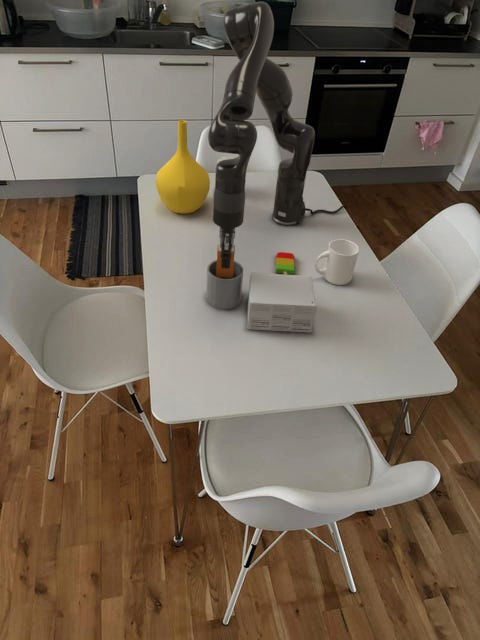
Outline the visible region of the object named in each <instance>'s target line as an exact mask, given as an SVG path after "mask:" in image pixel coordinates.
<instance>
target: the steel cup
mask: <svg viewBox="0 0 480 640" xmlns="http://www.w3.org/2000/svg"><path fill="white" fill-rule="evenodd" d="M216 272H217V259H215V260H212V261H211V262H210V263H209V264H208V265H207V269H206V302H207V303H208V304H209V305H210V306H211V307H213V308H215V309H218V310H232V309H235V308H236V307H238V306H239V305H240V304H241V302H242V292H243V283H244V282H243V281H244V267H243V265H242V264H241V263H239V261H236V260H234V268H233V278H226V277H216Z"/></svg>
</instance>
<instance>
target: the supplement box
mask: <svg viewBox="0 0 480 640" xmlns="http://www.w3.org/2000/svg"><path fill="white" fill-rule="evenodd" d="M313 282H314V281H313V276H312V275H298V274H287V275H284V274H282V273H262V272H261V273H260V272H250V275H249V285H248V296H247V326H246V327H247V328H246V329H247V330H256V331H257V330H258V331H272V332H273V331H274V332H275V331H276V332H290V333H291V332H292V333H309V334H310V333H312V331H313V325H314V320H315V316H316V311H317V301H316V295H315V289H314V283H313Z"/></svg>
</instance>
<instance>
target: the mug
mask: <svg viewBox="0 0 480 640" xmlns="http://www.w3.org/2000/svg"><path fill="white" fill-rule="evenodd" d="M359 252H360V248H359V246H358V245H357V244H356V243H355V242H353V241H350V240H348V239H344V238H338V239H333V240H331V241H330V242H329V243H328V248H327V250H326V251H325V250H324V252H321V253H320V254H319V255H318V256H317V258H316V260H315V263H314V268H315V271H316V272H317V273H318V274H319V275H323V277H324V279H325V280H326V281H327V282H328V283H330V284H333V285H337V286H343V285H344V286H345V285H347V284H349V283H350V282H351V281H352V278H353V274H354V272H355V267H356V263H357V260H358V256H359ZM324 258H325V263H324V267H323V268H318V267H317V264H318V262H319V261H320V260H321V259H324Z"/></svg>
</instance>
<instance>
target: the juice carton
mask: <svg viewBox="0 0 480 640" xmlns="http://www.w3.org/2000/svg"><path fill="white" fill-rule="evenodd" d="M216 250H217V252H216V255H217V256H216V260H217V272H216V277H226V278H233V268H234V261H235V254H236V253H235V251H236V245H235V244H234V245H233V249H232V250H231V254H232V255H231V259H230V268H229V269H226V268H222V267H221V262H222V259H221V250H222V249H221V248H220V243H218V244H217V249H216Z"/></svg>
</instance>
